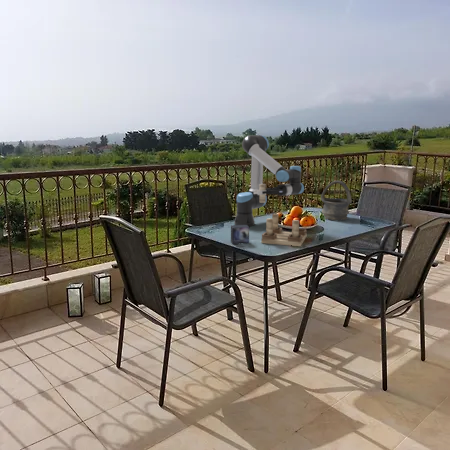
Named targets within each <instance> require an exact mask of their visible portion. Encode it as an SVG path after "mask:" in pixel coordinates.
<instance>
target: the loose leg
mask: <svg viewBox="0 0 450 450" xmlns="http://www.w3.org/2000/svg"><path fill="white" fill-rule="evenodd" d="M266 188H267V187H266V183H262V184H260V190H266ZM266 196H267V194H263V195H259V202H260V203H265V199H266Z"/></svg>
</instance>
